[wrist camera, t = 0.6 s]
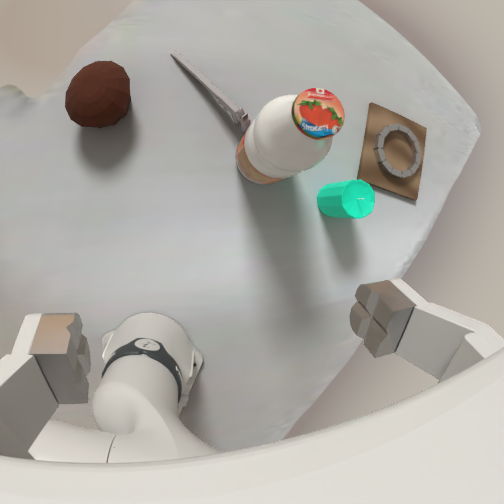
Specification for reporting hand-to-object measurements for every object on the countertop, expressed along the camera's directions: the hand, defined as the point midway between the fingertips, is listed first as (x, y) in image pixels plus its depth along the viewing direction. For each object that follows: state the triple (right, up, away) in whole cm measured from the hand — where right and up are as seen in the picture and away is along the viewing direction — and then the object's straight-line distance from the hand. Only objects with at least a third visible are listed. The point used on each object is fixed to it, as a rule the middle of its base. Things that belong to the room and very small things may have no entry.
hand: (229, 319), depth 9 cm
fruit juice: (+2, +18, +45) cm, 49 cm away
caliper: (-7, +30, +43) cm, 53 cm away
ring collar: (+28, +21, +49) cm, 60 cm away
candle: (+15, +11, +48) cm, 52 cm away
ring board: (+28, +21, +49) cm, 60 cm away
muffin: (-25, +28, +40) cm, 54 cm away
